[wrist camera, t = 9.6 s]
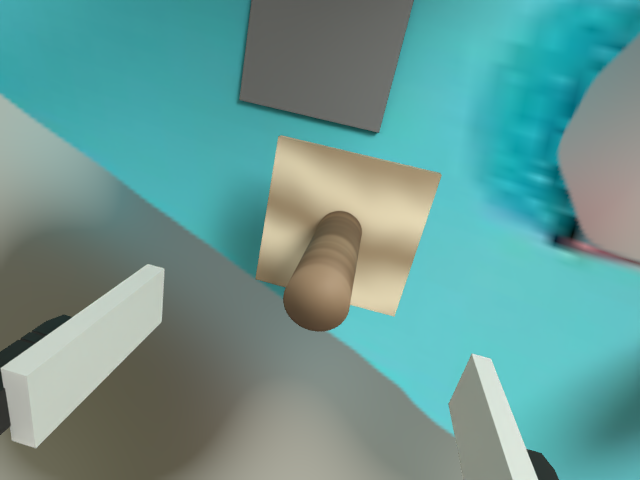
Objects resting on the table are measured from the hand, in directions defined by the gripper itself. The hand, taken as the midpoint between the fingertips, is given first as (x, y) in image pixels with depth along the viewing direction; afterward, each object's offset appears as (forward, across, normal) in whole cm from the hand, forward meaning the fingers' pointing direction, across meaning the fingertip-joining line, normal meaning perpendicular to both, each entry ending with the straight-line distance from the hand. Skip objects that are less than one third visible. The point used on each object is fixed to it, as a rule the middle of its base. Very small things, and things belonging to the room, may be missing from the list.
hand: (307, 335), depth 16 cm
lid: (+15, 0, -1) cm, 15 cm away
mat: (+25, -6, +15) cm, 30 cm away
